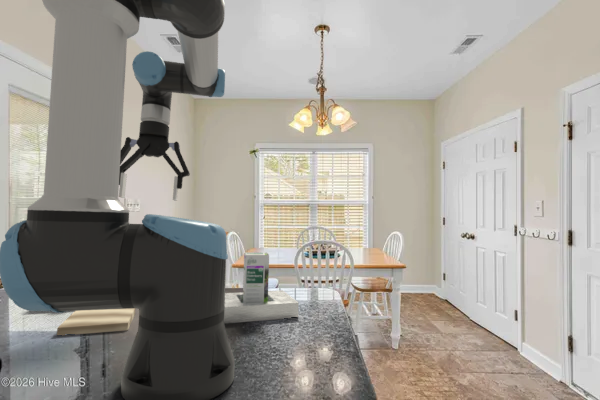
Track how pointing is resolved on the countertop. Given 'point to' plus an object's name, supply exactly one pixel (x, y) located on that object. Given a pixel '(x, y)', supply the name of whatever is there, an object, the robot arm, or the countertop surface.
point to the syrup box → (255, 277)
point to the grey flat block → (259, 308)
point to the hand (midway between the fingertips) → (148, 199)
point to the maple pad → (97, 321)
